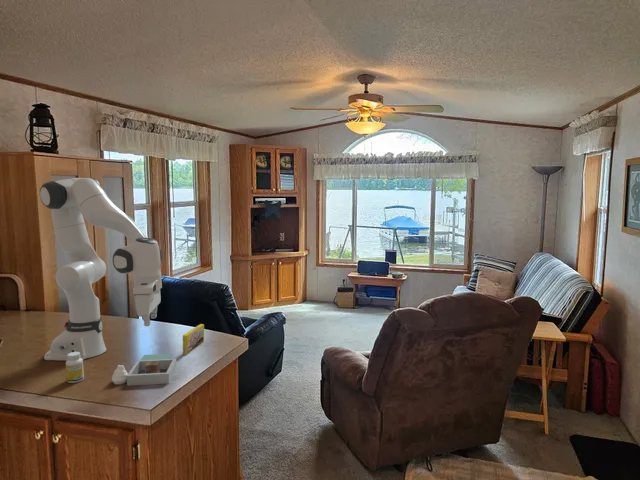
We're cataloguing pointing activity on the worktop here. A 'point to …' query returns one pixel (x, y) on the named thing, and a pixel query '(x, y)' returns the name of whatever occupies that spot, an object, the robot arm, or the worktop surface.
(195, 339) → the candy box
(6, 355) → the worktop surface
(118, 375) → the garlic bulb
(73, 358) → the supplement bottle
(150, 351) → the worktop surface
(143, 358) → the teal tile
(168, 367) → the grey bin
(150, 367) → the walnut block
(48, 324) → the worktop surface
